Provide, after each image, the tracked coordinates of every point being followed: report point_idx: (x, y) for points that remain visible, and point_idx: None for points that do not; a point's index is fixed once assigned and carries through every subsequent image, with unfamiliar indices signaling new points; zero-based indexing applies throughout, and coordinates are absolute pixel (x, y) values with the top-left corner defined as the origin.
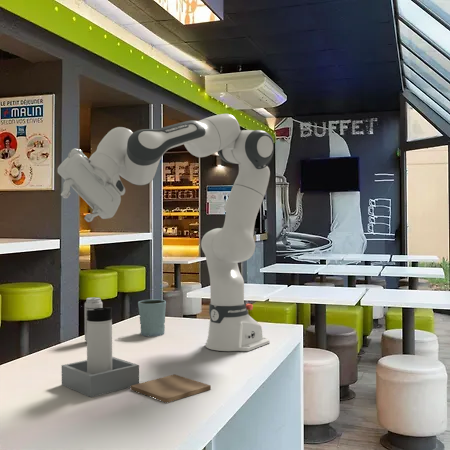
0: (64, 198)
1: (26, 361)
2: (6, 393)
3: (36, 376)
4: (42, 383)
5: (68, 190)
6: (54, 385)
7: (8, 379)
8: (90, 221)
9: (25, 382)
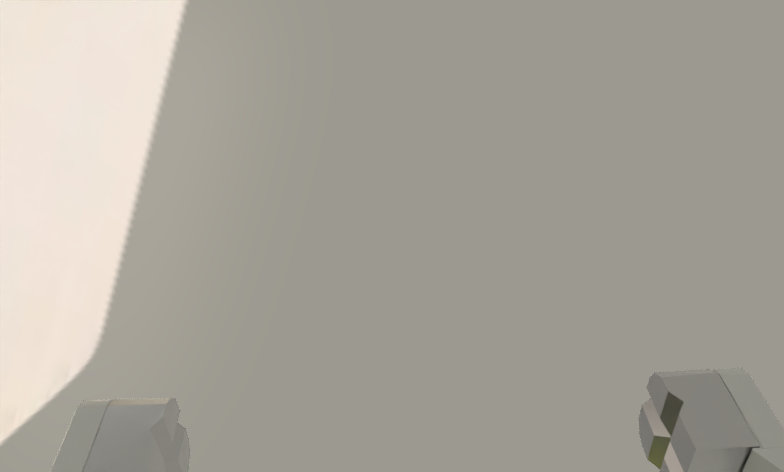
0: (643, 417)
1: (13, 382)
2: (173, 24)
3: (36, 162)
4: (42, 59)
5: (768, 440)
6: (9, 3)
7: (129, 176)
8: (92, 405)
9: (91, 109)
